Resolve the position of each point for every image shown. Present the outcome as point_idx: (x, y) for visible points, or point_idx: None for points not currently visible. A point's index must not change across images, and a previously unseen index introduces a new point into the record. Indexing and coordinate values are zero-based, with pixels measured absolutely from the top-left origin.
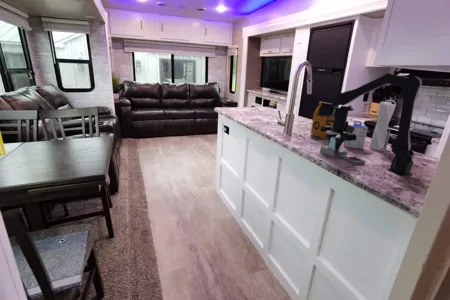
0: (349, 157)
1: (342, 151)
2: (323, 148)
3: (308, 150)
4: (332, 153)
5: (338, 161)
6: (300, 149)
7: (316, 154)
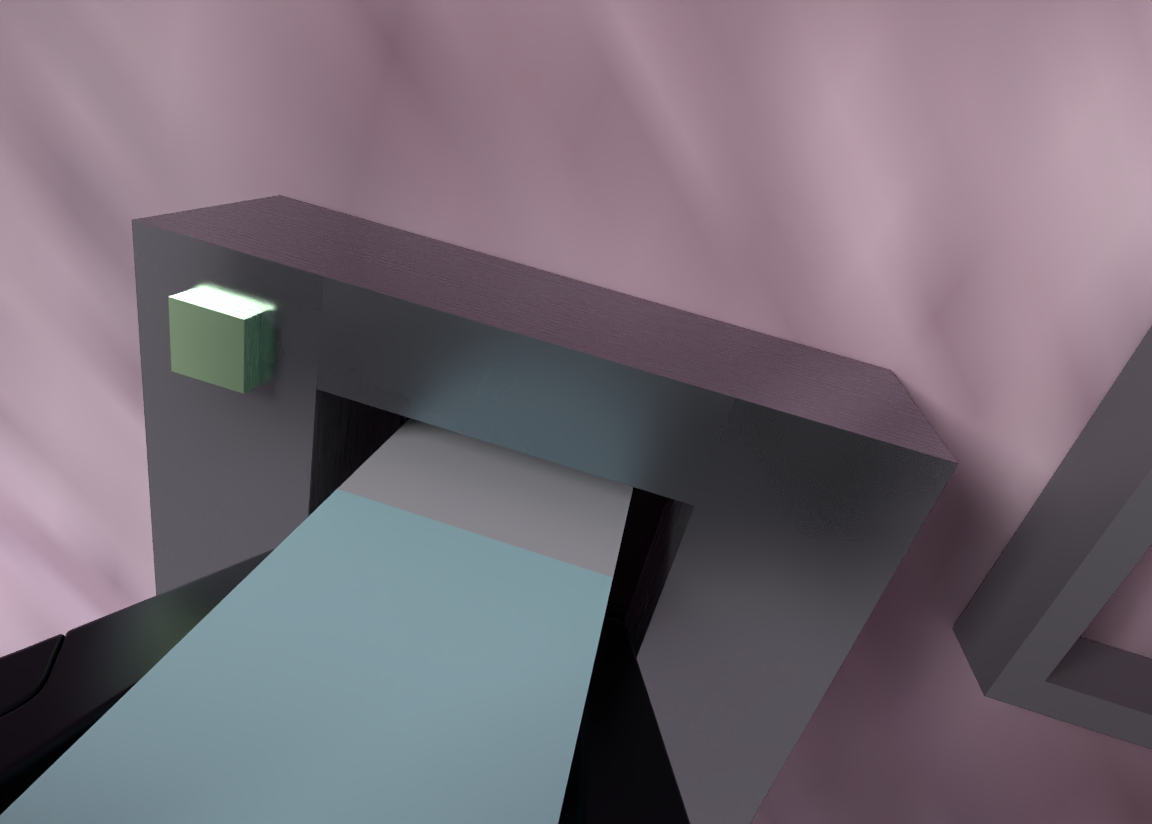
0: (1106, 595)
1: (803, 611)
2: None
3: None
4: None
5: (896, 791)
6: None
7: None
